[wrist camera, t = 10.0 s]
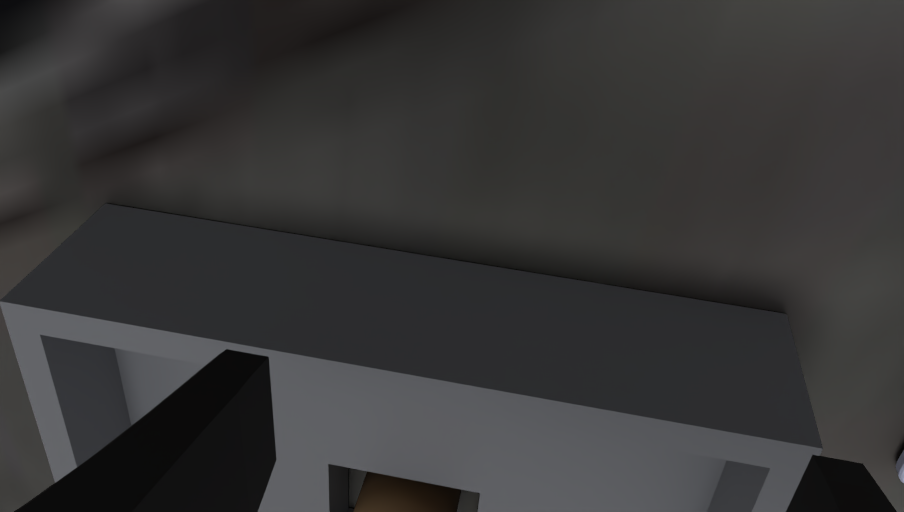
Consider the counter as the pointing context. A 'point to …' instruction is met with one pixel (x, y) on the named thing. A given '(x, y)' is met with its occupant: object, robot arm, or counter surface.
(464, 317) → the box
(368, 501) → the peg
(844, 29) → the counter surface
